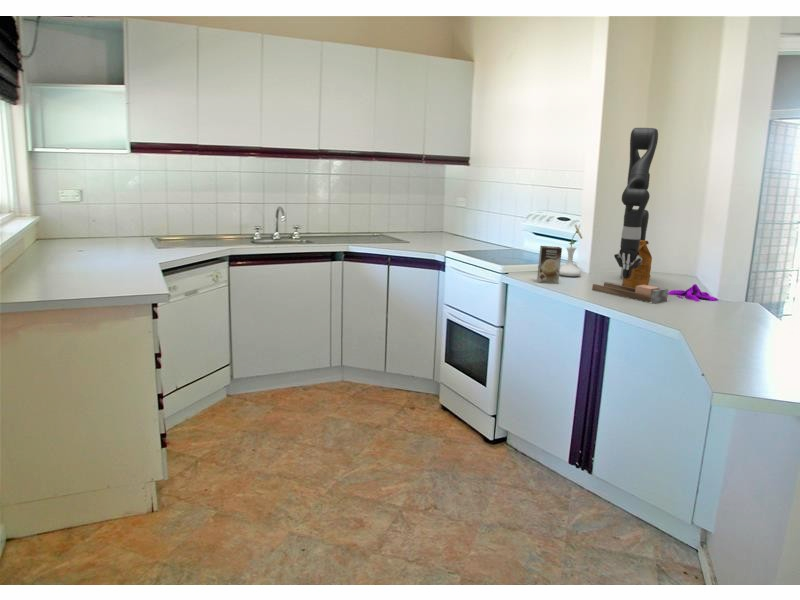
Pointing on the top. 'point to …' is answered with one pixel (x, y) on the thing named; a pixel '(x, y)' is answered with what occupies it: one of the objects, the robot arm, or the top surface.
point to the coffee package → (640, 268)
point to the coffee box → (549, 264)
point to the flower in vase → (570, 260)
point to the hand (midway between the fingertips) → (626, 278)
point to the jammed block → (645, 289)
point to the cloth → (693, 294)
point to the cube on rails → (632, 292)
